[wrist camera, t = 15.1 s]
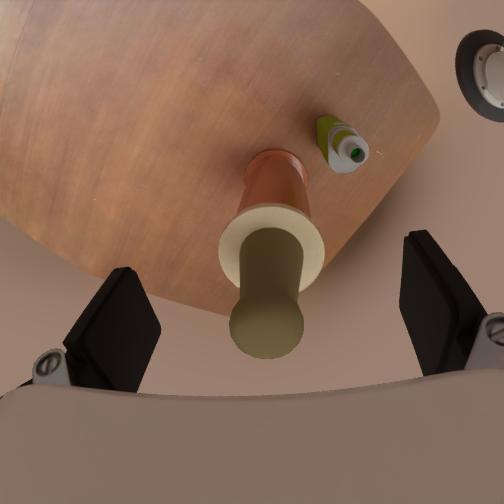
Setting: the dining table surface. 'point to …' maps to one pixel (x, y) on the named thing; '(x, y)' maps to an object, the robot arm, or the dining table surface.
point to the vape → (340, 144)
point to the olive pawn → (268, 294)
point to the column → (273, 212)
